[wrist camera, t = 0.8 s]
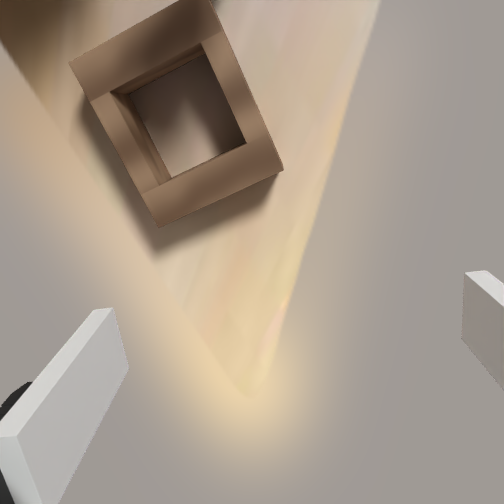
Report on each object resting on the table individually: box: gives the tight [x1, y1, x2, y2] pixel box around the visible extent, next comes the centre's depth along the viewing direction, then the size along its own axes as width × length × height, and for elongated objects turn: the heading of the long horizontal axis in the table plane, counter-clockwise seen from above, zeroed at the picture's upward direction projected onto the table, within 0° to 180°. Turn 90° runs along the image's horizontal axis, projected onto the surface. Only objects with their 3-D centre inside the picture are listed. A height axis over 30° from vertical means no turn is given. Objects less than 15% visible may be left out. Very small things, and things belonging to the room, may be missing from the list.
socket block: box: [69, 0, 284, 228], centre depth 39 cm, size 16×13×5 cm
